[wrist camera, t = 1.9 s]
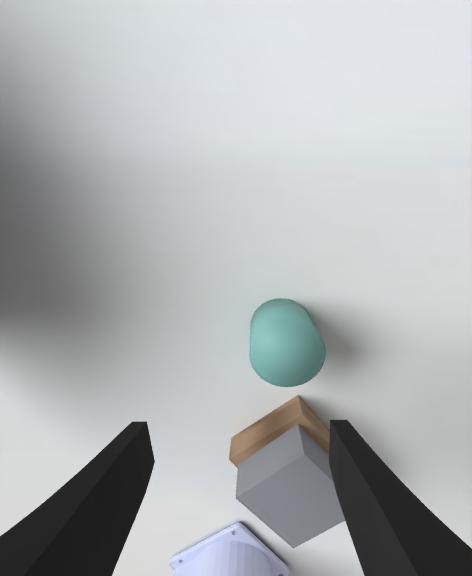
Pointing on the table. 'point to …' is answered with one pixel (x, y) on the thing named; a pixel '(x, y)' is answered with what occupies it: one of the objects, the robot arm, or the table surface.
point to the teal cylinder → (285, 344)
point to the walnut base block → (278, 429)
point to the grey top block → (290, 487)
